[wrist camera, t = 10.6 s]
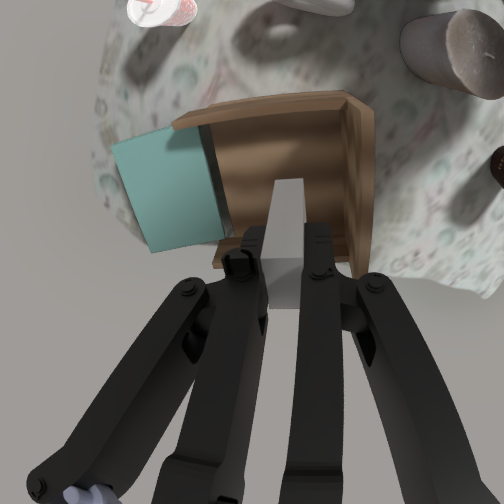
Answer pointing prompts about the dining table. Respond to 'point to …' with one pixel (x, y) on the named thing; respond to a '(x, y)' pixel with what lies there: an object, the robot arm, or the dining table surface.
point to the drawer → (297, 163)
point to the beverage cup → (161, 12)
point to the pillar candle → (457, 52)
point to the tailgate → (170, 187)
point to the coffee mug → (498, 165)
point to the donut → (321, 6)
